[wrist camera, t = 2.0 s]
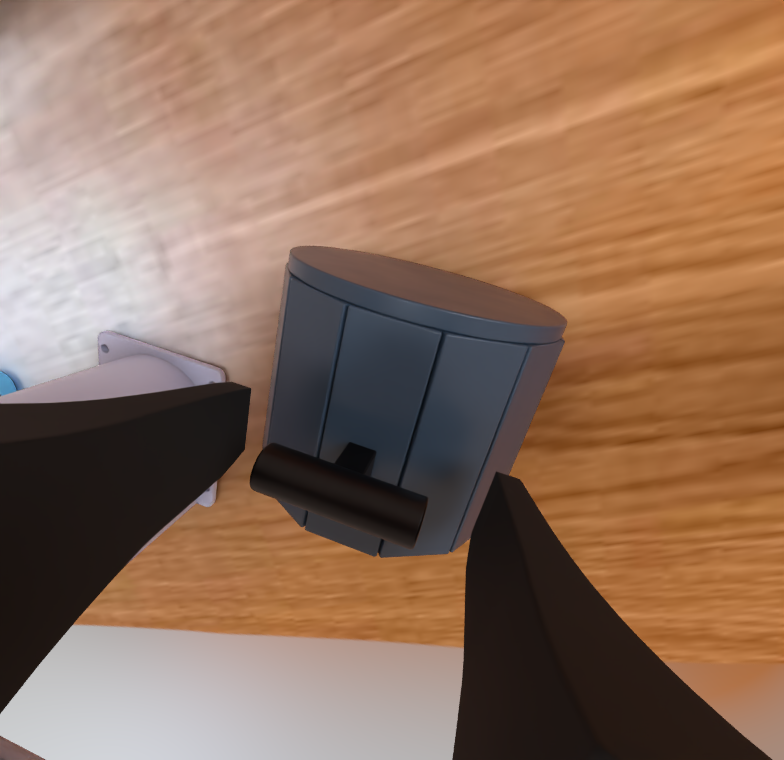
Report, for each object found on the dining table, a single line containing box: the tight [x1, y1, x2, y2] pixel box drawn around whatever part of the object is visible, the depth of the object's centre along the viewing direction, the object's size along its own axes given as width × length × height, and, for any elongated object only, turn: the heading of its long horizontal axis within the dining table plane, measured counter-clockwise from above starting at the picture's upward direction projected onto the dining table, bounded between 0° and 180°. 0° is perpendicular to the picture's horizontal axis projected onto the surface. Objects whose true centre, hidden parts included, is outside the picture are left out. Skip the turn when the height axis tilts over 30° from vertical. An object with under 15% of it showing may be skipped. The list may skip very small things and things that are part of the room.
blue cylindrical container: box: [250, 246, 567, 558], centre depth 14 cm, size 11×9×8 cm
